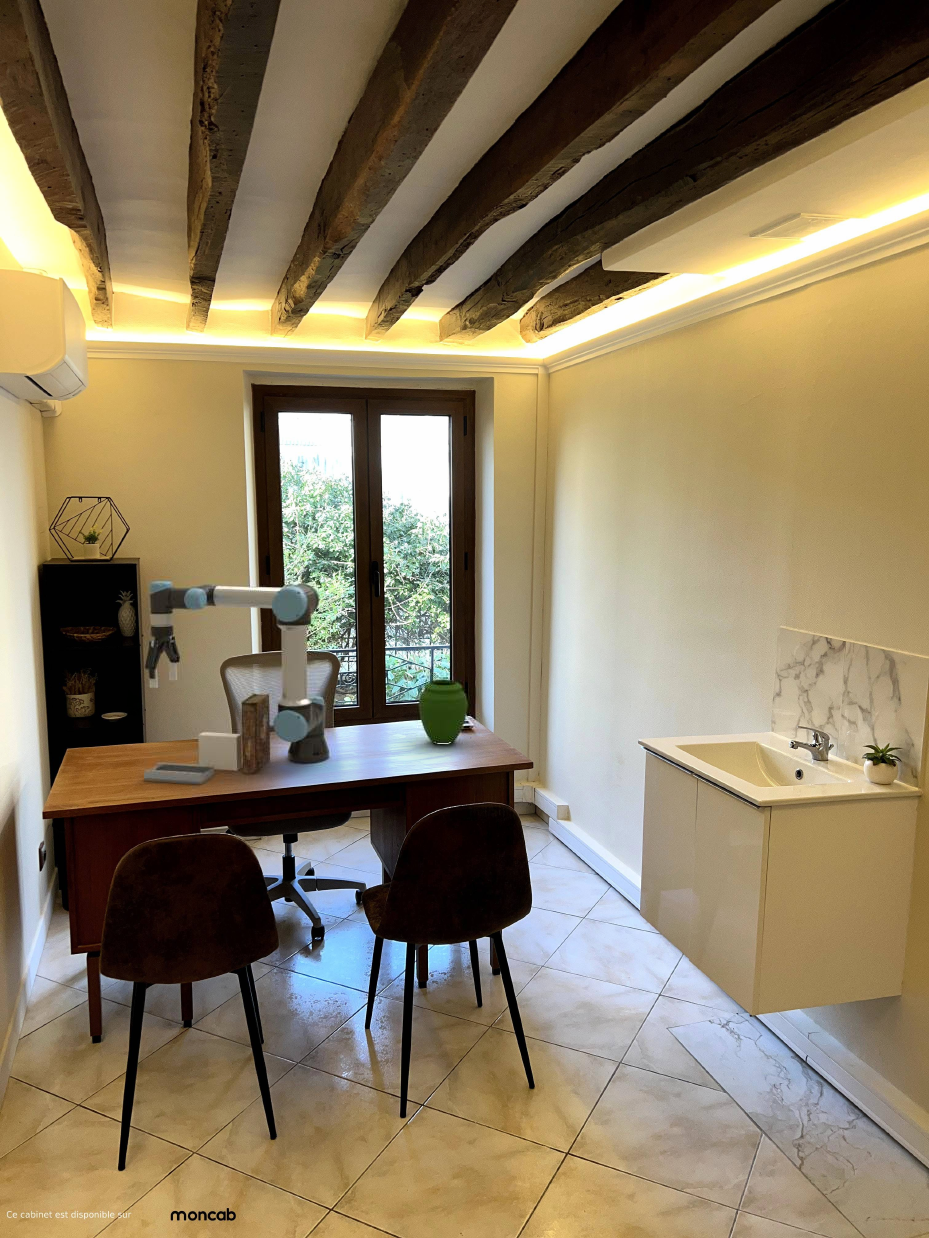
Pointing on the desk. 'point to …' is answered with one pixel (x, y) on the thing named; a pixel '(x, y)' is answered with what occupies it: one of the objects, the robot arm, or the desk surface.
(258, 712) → the book
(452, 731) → the vase
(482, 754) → the desk surface
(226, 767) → the door
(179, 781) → the track
